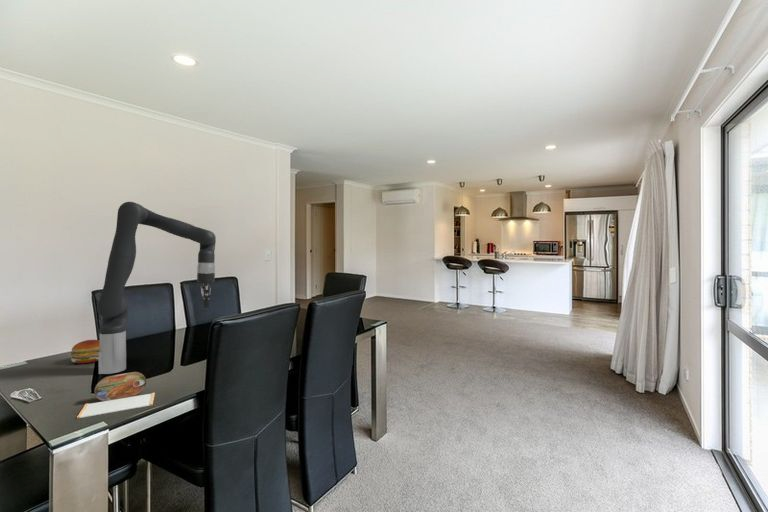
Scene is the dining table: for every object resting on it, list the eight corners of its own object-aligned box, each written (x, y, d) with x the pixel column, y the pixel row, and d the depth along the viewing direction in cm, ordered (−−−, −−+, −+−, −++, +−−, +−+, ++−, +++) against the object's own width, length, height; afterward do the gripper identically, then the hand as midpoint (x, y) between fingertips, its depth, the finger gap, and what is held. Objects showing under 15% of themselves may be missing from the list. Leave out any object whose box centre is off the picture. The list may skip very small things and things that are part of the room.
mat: (76, 418, 111) (76, 417, 111) (85, 405, 121) (85, 403, 121) (152, 405, 121) (152, 403, 121) (154, 393, 131) (154, 392, 131)
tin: (94, 404, 122) (94, 379, 122) (94, 400, 125) (94, 377, 124) (146, 393, 131) (146, 371, 131) (146, 390, 134) (145, 368, 133)
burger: (82, 366, 161) (82, 345, 161) (63, 363, 165) (62, 342, 165) (113, 358, 174) (113, 338, 174) (94, 355, 178) (94, 336, 178)
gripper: (196, 271, 172) (195, 304, 172) (197, 273, 159) (197, 308, 159) (213, 271, 175) (212, 303, 176) (216, 272, 163) (215, 307, 163)
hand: (205, 306), depth 167 cm, fingers open, 8 cm apart
